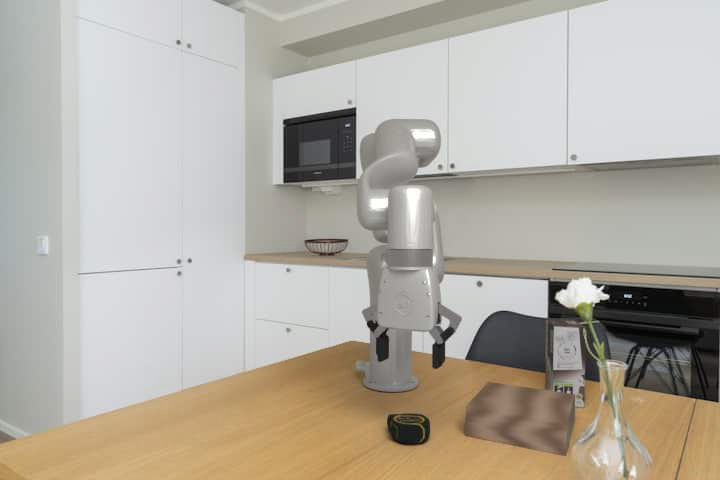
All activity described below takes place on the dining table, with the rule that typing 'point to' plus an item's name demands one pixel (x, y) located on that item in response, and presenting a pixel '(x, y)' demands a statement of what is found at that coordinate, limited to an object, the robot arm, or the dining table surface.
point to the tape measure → (409, 427)
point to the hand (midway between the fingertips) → (409, 363)
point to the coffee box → (565, 358)
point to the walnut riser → (522, 417)
